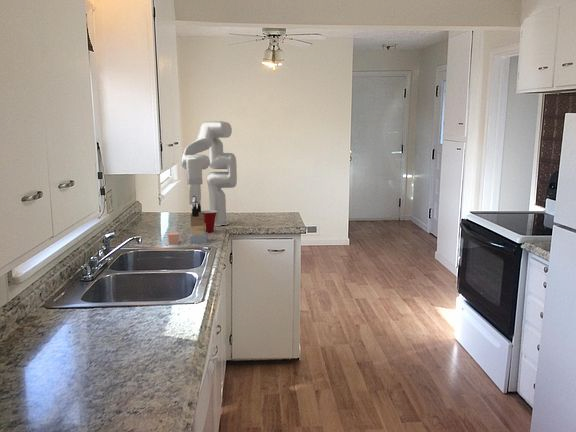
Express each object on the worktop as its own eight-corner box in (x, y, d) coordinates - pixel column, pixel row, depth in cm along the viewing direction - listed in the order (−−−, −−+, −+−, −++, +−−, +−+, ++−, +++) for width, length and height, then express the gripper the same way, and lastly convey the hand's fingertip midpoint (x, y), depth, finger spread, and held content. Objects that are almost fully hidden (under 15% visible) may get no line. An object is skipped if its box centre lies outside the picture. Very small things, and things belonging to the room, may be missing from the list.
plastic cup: (221, 230, 283) (220, 209, 280) (213, 234, 272) (212, 212, 270) (203, 229, 286) (202, 208, 283) (195, 233, 275) (194, 211, 273)
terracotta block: (168, 242, 255) (167, 232, 254) (178, 241, 257) (177, 232, 256) (168, 244, 251) (168, 234, 250) (179, 243, 252) (178, 234, 251)
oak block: (194, 232, 260) (194, 223, 259) (205, 232, 260) (205, 223, 259) (192, 235, 254) (191, 225, 253) (203, 235, 254) (203, 225, 253)
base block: (192, 240, 261) (192, 232, 260) (207, 239, 261) (207, 232, 260) (190, 243, 253) (190, 236, 252) (206, 243, 253) (205, 235, 253)
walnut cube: (192, 223, 258) (192, 212, 257) (204, 223, 258) (204, 212, 257) (191, 226, 252) (190, 214, 251) (202, 225, 252) (202, 214, 251)
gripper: (189, 179, 259) (191, 211, 263) (184, 183, 242) (186, 218, 246) (204, 178, 259) (206, 211, 263) (200, 183, 242) (202, 217, 246)
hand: (196, 214), depth 254 cm, fingers open, 9 cm apart
